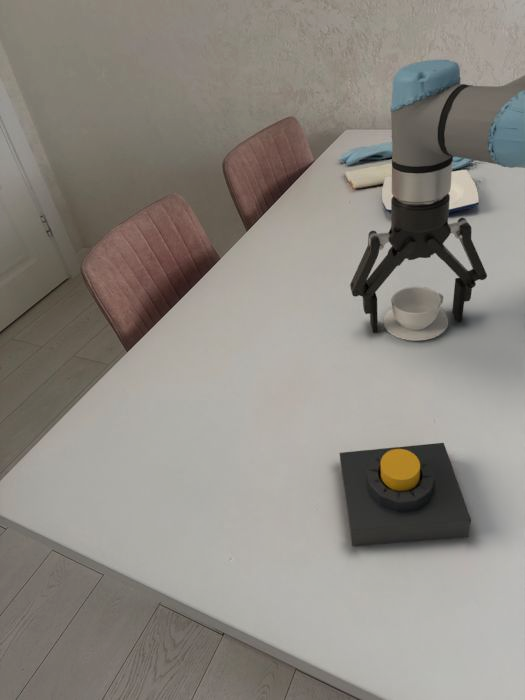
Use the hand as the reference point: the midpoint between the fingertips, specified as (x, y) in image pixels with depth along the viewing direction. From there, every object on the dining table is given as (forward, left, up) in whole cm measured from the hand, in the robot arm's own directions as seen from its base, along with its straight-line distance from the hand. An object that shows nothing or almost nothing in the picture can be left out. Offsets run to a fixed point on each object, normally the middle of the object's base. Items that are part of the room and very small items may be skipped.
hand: (415, 322), depth 80 cm
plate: (-13, -45, 0) cm, 47 cm away
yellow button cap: (+9, +32, +4) cm, 34 cm away
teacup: (0, 0, 0) cm, 0 cm away
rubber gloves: (-13, -71, 0) cm, 72 cm away
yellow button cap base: (+9, +32, 0) cm, 33 cm away
